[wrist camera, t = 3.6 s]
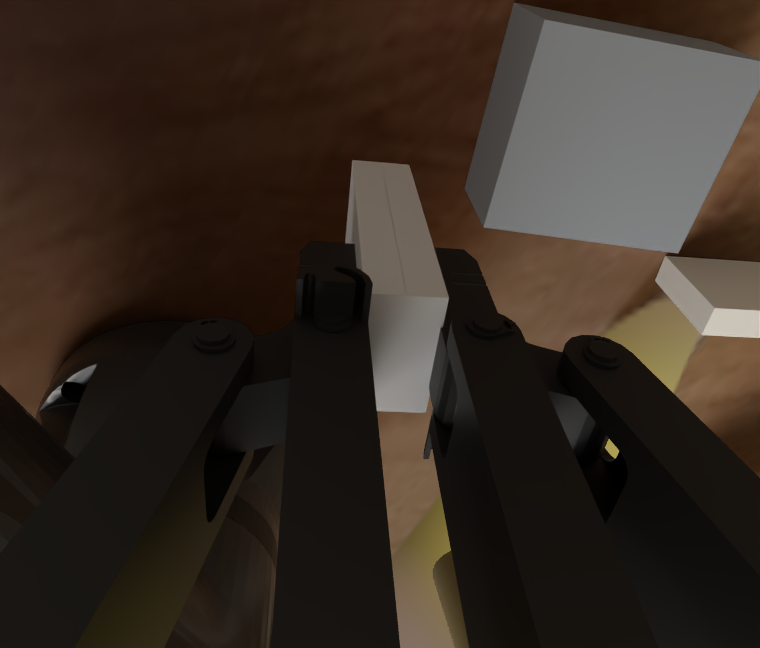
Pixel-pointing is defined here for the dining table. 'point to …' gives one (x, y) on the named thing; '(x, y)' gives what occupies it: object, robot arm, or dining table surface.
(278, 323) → the dining table surface
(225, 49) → the dining table surface
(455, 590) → the pepper mill
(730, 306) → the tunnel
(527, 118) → the slate block
